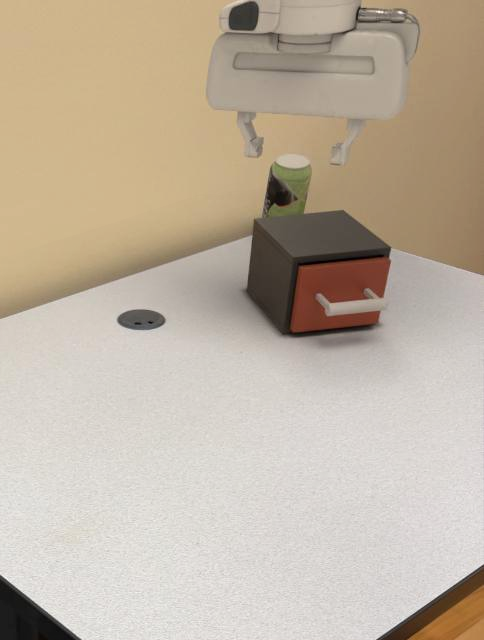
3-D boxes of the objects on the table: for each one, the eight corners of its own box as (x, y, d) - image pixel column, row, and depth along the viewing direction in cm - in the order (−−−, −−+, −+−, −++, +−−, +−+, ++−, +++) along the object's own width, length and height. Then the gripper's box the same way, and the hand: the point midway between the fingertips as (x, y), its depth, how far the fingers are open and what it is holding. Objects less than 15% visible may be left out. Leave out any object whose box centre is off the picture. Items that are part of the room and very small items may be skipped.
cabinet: (375, 324, 113) (391, 247, 106) (282, 334, 112) (293, 257, 105) (331, 281, 124) (343, 209, 117) (246, 290, 123) (253, 218, 117)
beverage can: (285, 229, 140) (296, 146, 132) (311, 244, 135) (323, 158, 127) (250, 236, 139) (258, 152, 131) (274, 251, 134) (284, 165, 126)
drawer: (395, 339, 107) (410, 275, 102) (307, 349, 106) (317, 284, 101) (335, 283, 121) (346, 224, 116) (257, 291, 120) (264, 232, 115)
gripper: (432, 3, 84) (402, 160, 93) (227, 1, 93) (218, 145, 102) (416, 14, 81) (386, 177, 89) (204, 11, 89) (196, 160, 98)
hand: (295, 160), depth 96 cm, fingers open, 8 cm apart
